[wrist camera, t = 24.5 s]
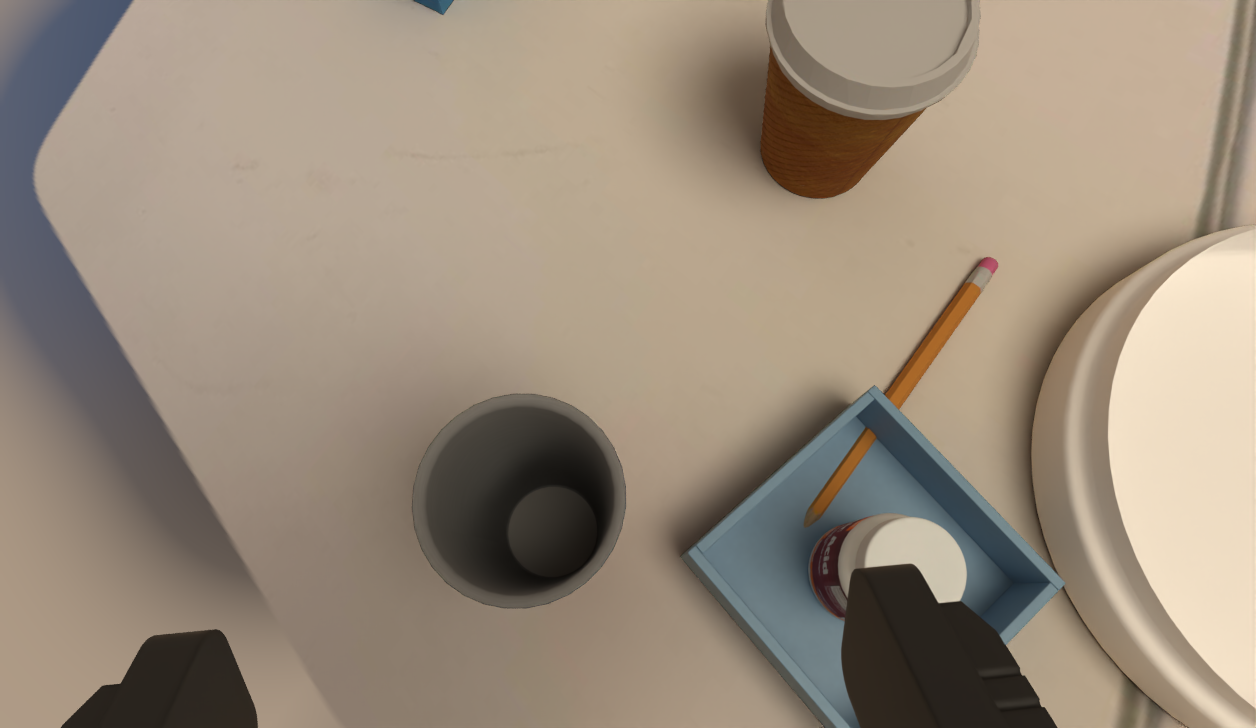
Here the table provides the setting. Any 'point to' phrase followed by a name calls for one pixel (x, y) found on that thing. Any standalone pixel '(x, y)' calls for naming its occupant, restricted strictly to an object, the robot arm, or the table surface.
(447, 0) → the perfume bottle
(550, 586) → the cup
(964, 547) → the open blue box
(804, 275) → the table surface
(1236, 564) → the white round tray
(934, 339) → the pencil
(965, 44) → the disposable coffee cup
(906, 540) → the pill bottle
